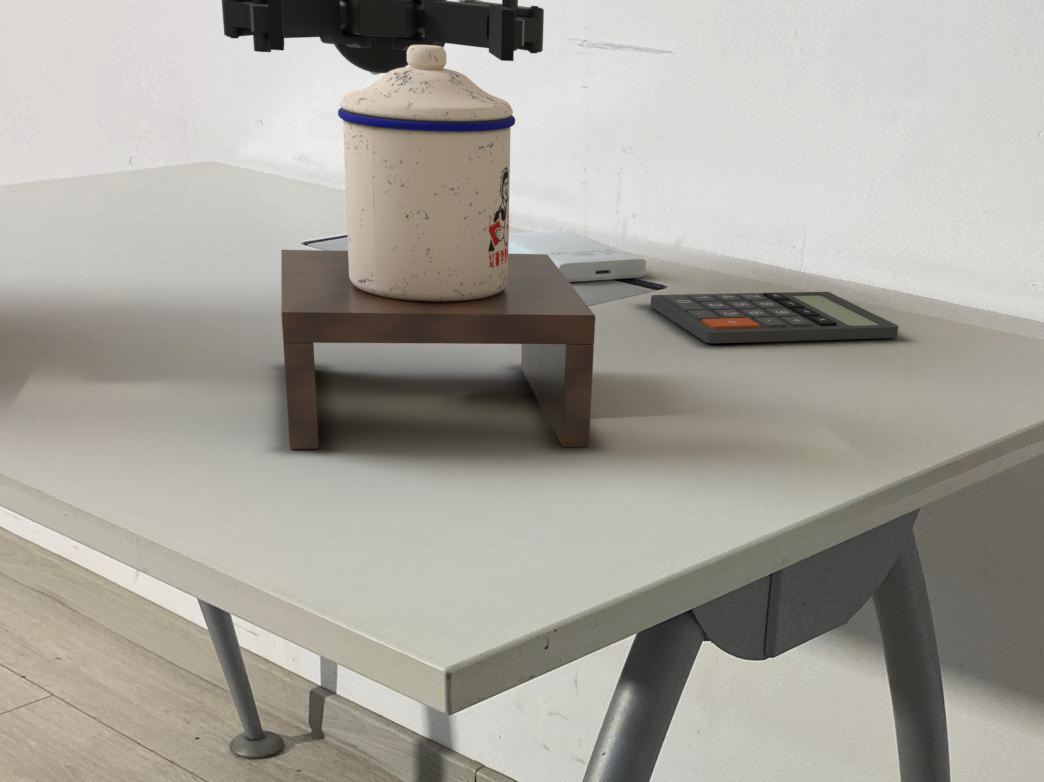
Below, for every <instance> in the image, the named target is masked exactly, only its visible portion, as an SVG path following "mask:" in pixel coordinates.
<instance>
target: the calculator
mask: <svg viewBox="0 0 1044 782" xmlns="http://www.w3.org/2000/svg"><path fill="white" fill-rule="evenodd" d="M649 305H650V307H651V308H652V309H653V310H655V311H657V312H658V313H659V314H661V315H663V316H665V317H666V318H668V319H669V320H670V321H672V322H674V323H675V324H677V325H678V326H679V327H681V328H683V329H685V330H686V331H687V332H689V333H691V334H692V335H694V336H695V337H697V338H698V339H700V340H701V341H703V342H704V343H707V344H736V343H737V344H738V343H764V342H765V343H767V342H769V343H770V342H797V341H798V342H799V341H801V342H802V341H823V340H824V341H827V340H828V341H831V340H832V341H834V340H861V339H862V340H865V339H891V338H892V339H893V338H898V334H899V327H900V326H899V325H898V324H895V323H894V322H892V321H890V320H888V319H885V318H883V317H881V316H879V315H877V314H875V313H873V312H871V311H869V310H867V309H865V308H863V307H861V306H859V305H857V304H855V303H853V302H850V301H848V300H846V299H844V298H842V297H840V296H838V295H836V294H834V293H832V292H830V291H796V292H795V291H791V292H790V291H787V292H786V291H784V292H783V291H782V292H736V293H733V292H731V293H729V292H727V293H687V294H683V293H681V294H680V293H679V294H652V295H650V304H649Z"/></svg>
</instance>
